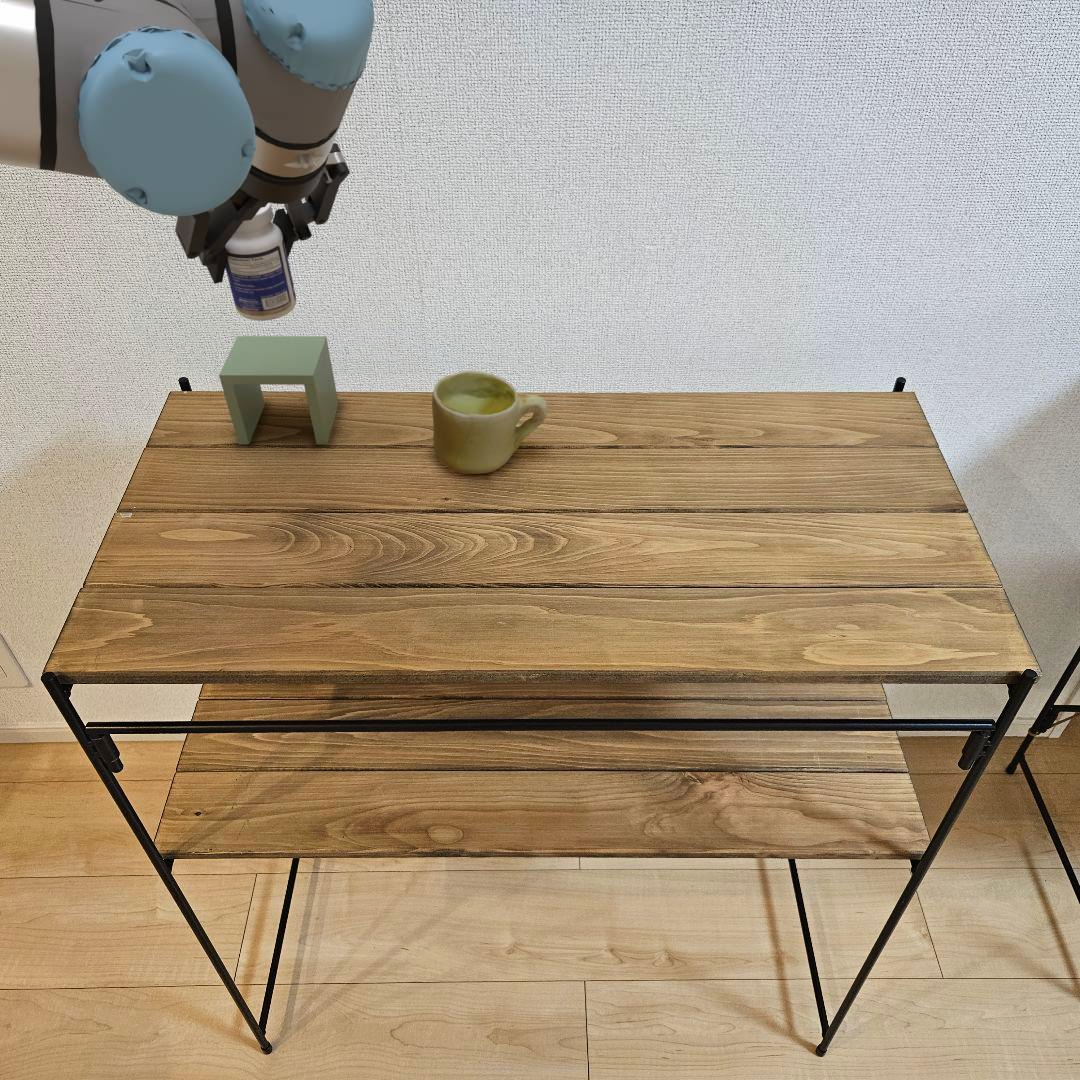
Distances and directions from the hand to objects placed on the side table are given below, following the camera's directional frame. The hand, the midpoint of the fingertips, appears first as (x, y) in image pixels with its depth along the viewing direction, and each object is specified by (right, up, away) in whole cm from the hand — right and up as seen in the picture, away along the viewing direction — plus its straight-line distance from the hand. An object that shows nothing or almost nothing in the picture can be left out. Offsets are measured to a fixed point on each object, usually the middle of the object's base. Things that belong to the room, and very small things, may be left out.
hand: (244, 260), depth 85 cm
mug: (+23, -17, +14) cm, 32 cm away
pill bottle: (+2, -5, 0) cm, 5 cm away
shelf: (-1, -13, +18) cm, 22 cm away
